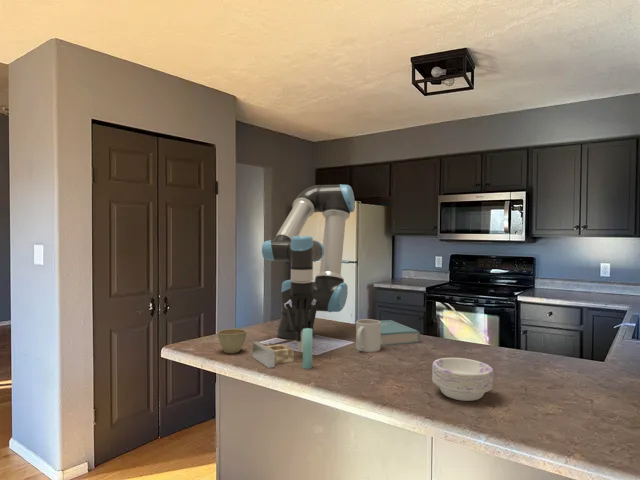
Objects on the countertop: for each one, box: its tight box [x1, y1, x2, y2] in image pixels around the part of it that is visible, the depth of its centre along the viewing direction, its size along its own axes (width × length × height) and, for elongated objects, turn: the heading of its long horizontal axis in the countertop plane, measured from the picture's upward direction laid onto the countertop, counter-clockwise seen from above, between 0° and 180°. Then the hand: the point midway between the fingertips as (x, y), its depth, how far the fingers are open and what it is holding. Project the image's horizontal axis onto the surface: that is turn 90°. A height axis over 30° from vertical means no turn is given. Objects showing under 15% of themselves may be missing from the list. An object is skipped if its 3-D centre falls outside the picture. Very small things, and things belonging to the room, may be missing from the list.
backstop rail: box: [252, 341, 276, 369], centre depth 148 cm, size 2×14×5 cm, turn 29°
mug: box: [355, 318, 382, 353], centre depth 165 cm, size 11×10×10 cm
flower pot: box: [217, 328, 247, 354], centre depth 161 cm, size 10×10×7 cm
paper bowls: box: [431, 357, 494, 402], centre depth 119 cm, size 15×15×8 cm
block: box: [266, 343, 295, 365], centre depth 151 cm, size 8×8×4 cm
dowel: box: [302, 328, 313, 370], centre depth 142 cm, size 3×3×12 cm
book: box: [379, 319, 421, 346], centre depth 184 cm, size 23×16×5 cm
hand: (301, 350), depth 155 cm, fingers closed
